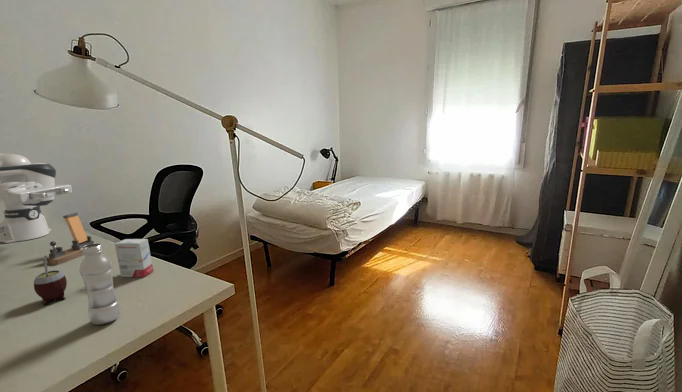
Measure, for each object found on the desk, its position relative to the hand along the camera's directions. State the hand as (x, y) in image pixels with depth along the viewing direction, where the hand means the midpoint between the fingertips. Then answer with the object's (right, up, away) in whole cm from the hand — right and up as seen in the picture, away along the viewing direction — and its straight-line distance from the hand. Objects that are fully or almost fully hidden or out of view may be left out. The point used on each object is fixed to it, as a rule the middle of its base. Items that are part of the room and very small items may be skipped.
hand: (57, 193), depth 131 cm
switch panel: (+7, -24, -1) cm, 25 cm away
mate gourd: (+30, -31, -36) cm, 56 cm away
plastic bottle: (+53, -33, -47) cm, 78 cm away
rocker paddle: (+8, -20, +3) cm, 22 cm away
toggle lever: (+6, -22, -7) cm, 24 cm away
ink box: (+44, -27, -20) cm, 55 cm away
